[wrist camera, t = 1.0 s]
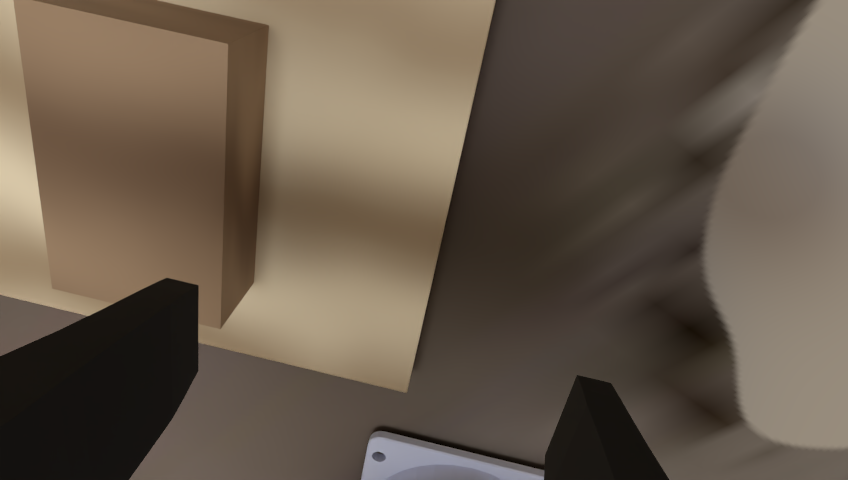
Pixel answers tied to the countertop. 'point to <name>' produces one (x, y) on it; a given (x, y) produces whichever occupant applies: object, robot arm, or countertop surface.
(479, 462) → the robot arm
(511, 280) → the countertop surface
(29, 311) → the countertop surface
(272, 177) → the bench board
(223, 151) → the tan cardboard box
